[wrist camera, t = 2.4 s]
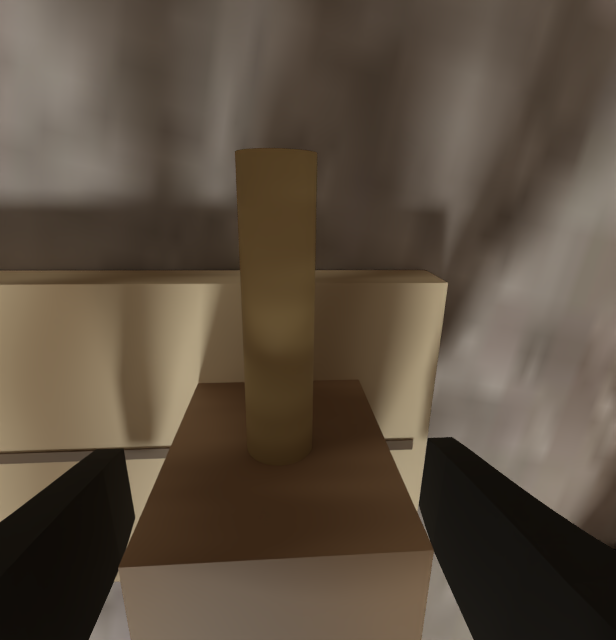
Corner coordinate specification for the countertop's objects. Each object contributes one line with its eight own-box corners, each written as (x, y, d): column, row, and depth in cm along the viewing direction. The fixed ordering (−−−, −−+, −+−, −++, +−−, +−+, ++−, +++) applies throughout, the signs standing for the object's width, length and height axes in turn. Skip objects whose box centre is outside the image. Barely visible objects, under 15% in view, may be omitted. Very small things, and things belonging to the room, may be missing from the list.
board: (425, 269, 11) (449, 283, 9) (396, 524, 14) (410, 566, 12) (-310, 271, 9) (-420, 286, 8) (-165, 553, 12) (-225, 603, 11)
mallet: (370, 168, 8) (492, 130, 4) (351, 506, 11) (406, 741, 6) (180, 164, 8) (38, 118, 3) (208, 513, 11) (153, 764, 6)
